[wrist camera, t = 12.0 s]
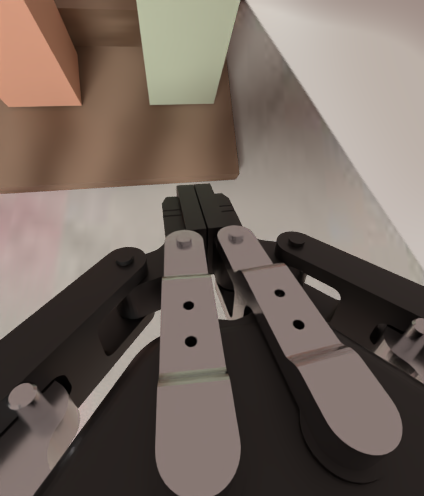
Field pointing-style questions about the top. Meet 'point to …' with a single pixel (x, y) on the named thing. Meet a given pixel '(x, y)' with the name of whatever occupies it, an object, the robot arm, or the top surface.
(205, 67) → the sage key
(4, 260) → the top surface
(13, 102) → the terracotta key
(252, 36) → the top surface
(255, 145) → the top surface
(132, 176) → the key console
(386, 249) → the top surface
